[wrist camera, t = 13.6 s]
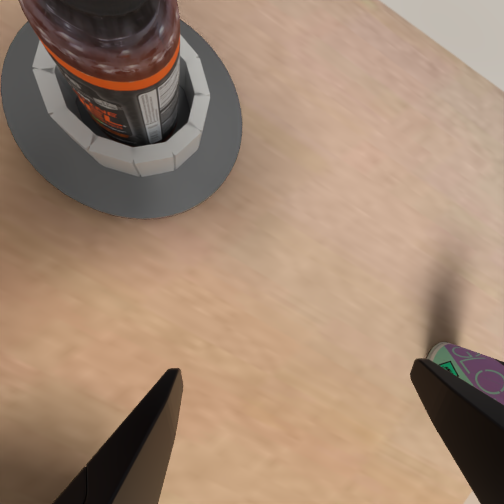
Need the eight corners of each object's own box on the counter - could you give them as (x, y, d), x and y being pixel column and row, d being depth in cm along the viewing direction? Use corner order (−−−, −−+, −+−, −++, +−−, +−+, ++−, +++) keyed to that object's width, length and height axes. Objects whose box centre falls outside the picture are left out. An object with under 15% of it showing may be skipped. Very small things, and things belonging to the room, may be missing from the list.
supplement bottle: (70, 113, 16) (-132, -141, 6) (124, 52, 17) (36, -268, 7) (149, 169, 18) (106, 53, 7) (194, 110, 19) (216, -70, 8)
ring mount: (60, 244, 17) (26, 243, 13) (-29, 8, 16) (-96, -69, 12) (260, 194, 22) (277, 183, 18) (208, 6, 20) (216, -50, 16)
